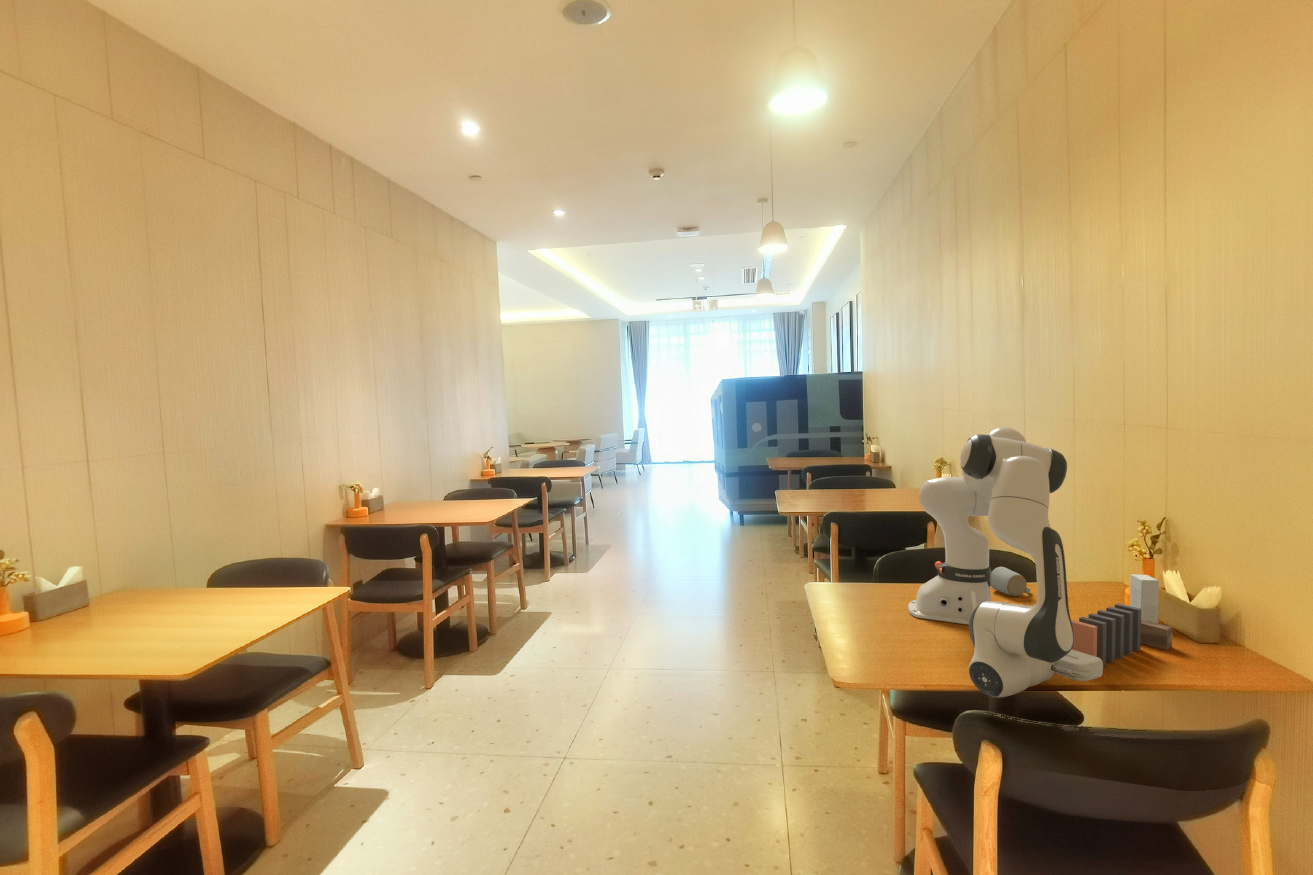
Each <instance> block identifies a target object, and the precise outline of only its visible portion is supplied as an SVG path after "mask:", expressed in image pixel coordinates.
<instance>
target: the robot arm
mask: <svg viewBox="0 0 1313 875" xmlns="http://www.w3.org/2000/svg"><path fill="white" fill-rule="evenodd" d="M959 457H960V458H959V459H960V468H961V469H962V471H961V472H962V473H961V475H962V476H942V477H937V478H931V479H928V480H925V481H924V482H923V484H921V486H920V488H919V491H918V500H919V504H920V506H921V507H922V509H923V510H924V512H926V514H928V515H930V516H931V517H932V518H933V519H934V520H935V521H936V522H937V524H938V525H939V527H940V529H941V531H942V534H943V537H944V549H945V552H944V553H945V561H944V562H942V561H939V560H938V561H935V563H934V566H935V569H936V570H937V575H936V576H934V577H933V578H931V579H930V580H928V581H927V582H924V583H923V584H921V586H920V587H919V588H918V591H917V594H916V597H915V598H916V599H913V600H911V601H910V602H908V606H907V609H908V610H907V611H908V613H909V614H910V615H912V616H913V617H915V618H918V619H926V620H933V621H941V622H948V623H955V624H962V625H968V630H969V631H968V632H969V636H970V640H971V642H972V645H973V648H974V653H973V656H972V659H971V660H970V663H969V664H968V674H969V678H970V680H971V682H972V683H973V685H974V686H975V687H976V688H977V689H978V690H979V691H981V693H983V694H984V695H987V696H989V697H992V698H1004V697H1009V696H1013V695H1016V694H1018V693H1021V692H1023V691H1025V690H1027V689H1028V688H1030V687H1031V688H1032V687H1035V686H1037V685H1039V684H1041V683H1043V682H1047V681H1048V680H1049V679H1051V678H1052V677H1053V676H1054V674H1056V675H1058V676H1061V677H1064V678H1067V679H1070V680H1073V681H1076V682H1077V681H1078V682H1087V681H1090V680H1091V681H1092V680H1094V679H1098V678H1100V677H1102V675H1103V672H1104V671H1103V670H1104V667H1103V662H1102V660H1101V659H1100V658H1098V657H1095V656H1092V655H1089V654H1085V653H1082V652H1079V651H1075V650H1072V647H1073V644H1074V633H1073V627H1072V623H1071V621H1072V619H1071V615H1070V610H1069V608H1070V607H1069V597H1068V596H1069V595H1068V581H1067V569H1066V568H1067V566H1066V558H1065V557H1066V556H1065V550H1064V545H1063V541H1062V538H1061V536H1060V534H1059V532H1057V530H1055V529H1053V528H1052V526H1051V524H1050V520H1049V508H1050V507H1049V506H1050V494H1052V493H1055V492H1056V491H1057V490H1059V489H1060V488H1061V487H1062V485H1063V484H1064V481H1065V478H1066V477H1067V473H1068V472H1067V471H1068V462H1067V459H1066V458H1065V456H1064V454H1062V453H1061V452H1059V451H1057V450H1055V449H1053V448H1050V447H1042V446H1040V445H1037V444H1034V443H1031V442H1027V439H1025V437H1024V436H1023V434H1022V433H1021V432H1020V431H1018V430H1016V429H1015V428H1011V427H1003V426H1002V427H997V428H995V429H993V430H992V431H990V432H989V433H987V434H973V435H972V436H971V437H969V438H967V440H966V442H965V444H964V445H963V447H962V449H961V452H960V456H959ZM969 517H988V521H987V522H988V525H989V528H990V530H991V531H992V532H993V535H995V537H997V539H999V540H1000V541H1001V542H1003V543H1005V544H1006V545H1008V546H1010V547H1011V548H1015V549H1017V550H1019V551H1021V552H1024V553H1025V554H1029V555H1030V557H1032V559H1033V561H1034V563H1035V570H1036V589H1037V591H1036V592H1037V602H1036V603H1035V604H1034V605H1024V604H1016V603H1010V602H1003V601H992V596H991V588H990V587H991V573H992V570H991V569H992V568H991V566H990V542H989V539H988V537H987V535H985V533H984V532H982V531H981V530H978V529H977V528H974V527H972V526H971V525H970V523H969Z"/></svg>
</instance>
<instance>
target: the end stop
mask: <svg viewBox="0 0 1313 875" xmlns="http://www.w3.org/2000/svg"><path fill="white" fill-rule="evenodd" d="M1141 644H1142V645H1147V646H1151V647H1154V648H1158V649H1161V650H1165V651H1167V650H1170V649H1171V648H1173V626H1170V625H1166V624H1161V623H1159V622H1158V623H1154V622H1150V621H1145V620H1141Z"/></svg>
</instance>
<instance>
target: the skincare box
mask: <svg viewBox="0 0 1313 875" xmlns="http://www.w3.org/2000/svg"><path fill="white" fill-rule="evenodd" d="M1129 587H1130V588H1129V589H1130V592H1129V594H1130V595H1129V596H1130V597H1129V599H1130V600H1129V606H1132V607H1136V608H1141V620H1145V621H1150V622H1154V623H1158V624H1159V597H1160V596H1159V595H1160V594H1159V593H1160V591H1159V590H1160V589H1159V588H1160V580H1158V579H1156V578H1154V577H1152V576H1150V575H1148V574H1130V586H1129Z"/></svg>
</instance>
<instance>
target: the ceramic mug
mask: <svg viewBox="0 0 1313 875" xmlns="http://www.w3.org/2000/svg"><path fill="white" fill-rule="evenodd" d="M990 587H991V588H992V589H993V590H994V591H997V592H1000V593H1002V594H1005V595H1007V596H1010V597H1014V598H1016V597H1020V596H1022V595H1023V594H1024V593H1026V594H1030V592H1031V588H1029V587H1028V586H1027V580H1026V578H1025V577H1024V576H1023V574H1020V573H1018V572H1016V571H1013V570H1011V569H1010V568H1007V567H1004V566H998V567H995V568H994V569H993V570H991V585H990Z"/></svg>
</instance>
